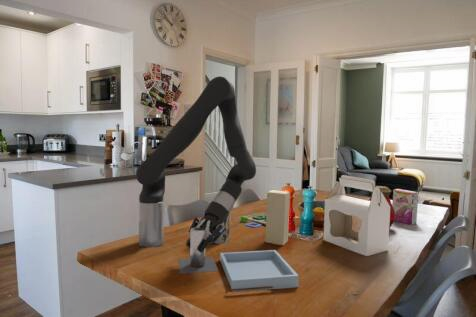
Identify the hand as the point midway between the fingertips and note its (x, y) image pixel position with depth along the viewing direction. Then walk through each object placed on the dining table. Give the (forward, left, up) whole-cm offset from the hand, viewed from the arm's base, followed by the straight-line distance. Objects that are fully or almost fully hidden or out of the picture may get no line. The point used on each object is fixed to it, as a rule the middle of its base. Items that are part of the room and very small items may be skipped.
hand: (193, 248), depth 112 cm
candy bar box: (+111, +43, -7) cm, 120 cm away
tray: (+19, -7, -7) cm, 22 cm away
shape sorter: (+44, +56, -8) cm, 71 cm away
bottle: (+92, +35, -7) cm, 98 cm away
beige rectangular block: (+36, +23, -7) cm, 44 cm away
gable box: (+66, +14, -7) cm, 68 cm away
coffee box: (+13, +28, -7) cm, 32 cm away
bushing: (+2, +1, -6) cm, 6 cm away
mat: (+2, +1, -7) cm, 7 cm away
